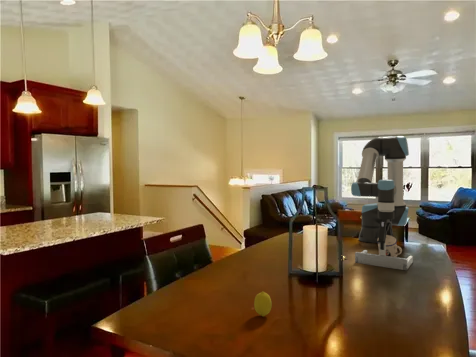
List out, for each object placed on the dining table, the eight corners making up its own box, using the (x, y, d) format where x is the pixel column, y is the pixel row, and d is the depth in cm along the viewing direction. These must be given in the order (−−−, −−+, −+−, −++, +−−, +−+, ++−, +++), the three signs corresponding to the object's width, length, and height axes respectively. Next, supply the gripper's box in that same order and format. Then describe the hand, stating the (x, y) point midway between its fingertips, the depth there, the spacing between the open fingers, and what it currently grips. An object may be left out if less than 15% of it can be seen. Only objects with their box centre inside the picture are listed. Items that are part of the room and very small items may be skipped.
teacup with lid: (375, 256, 176) (372, 237, 172) (384, 247, 181) (382, 228, 177) (397, 264, 167) (395, 244, 163) (407, 255, 171) (405, 235, 167)
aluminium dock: (364, 255, 181) (364, 246, 180) (412, 262, 167) (412, 252, 167) (355, 262, 168) (355, 252, 167) (406, 270, 154) (406, 259, 154)
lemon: (260, 311, 112) (260, 287, 112) (275, 315, 109) (274, 291, 109) (250, 317, 108) (250, 292, 108) (265, 322, 105) (265, 296, 104)
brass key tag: (338, 257, 178) (338, 255, 178) (346, 257, 177) (346, 255, 177) (338, 260, 171) (338, 258, 171) (347, 261, 170) (347, 259, 170)
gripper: (383, 207, 182) (383, 247, 183) (371, 213, 162) (371, 257, 163) (399, 208, 178) (399, 249, 178) (388, 214, 158) (388, 260, 158)
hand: (385, 253), depth 171 cm, fingers open, 13 cm apart
